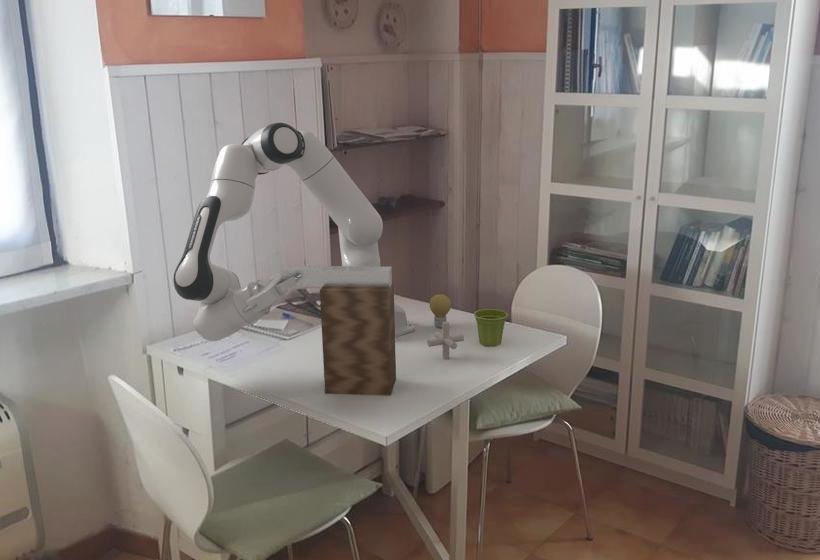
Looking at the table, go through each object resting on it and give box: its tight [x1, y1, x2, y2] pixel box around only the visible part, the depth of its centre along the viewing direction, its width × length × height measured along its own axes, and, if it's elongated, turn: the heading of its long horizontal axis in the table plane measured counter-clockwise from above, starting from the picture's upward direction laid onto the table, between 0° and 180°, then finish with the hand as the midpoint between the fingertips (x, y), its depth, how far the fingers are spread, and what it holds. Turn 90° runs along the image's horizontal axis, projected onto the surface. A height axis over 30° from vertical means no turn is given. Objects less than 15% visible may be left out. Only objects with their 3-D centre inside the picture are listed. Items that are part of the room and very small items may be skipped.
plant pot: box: [473, 308, 509, 347], centre depth 218 cm, size 9×9×9 cm
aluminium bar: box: [279, 265, 393, 288], centre depth 184 cm, size 26×4×4 cm, turn 84°
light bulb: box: [429, 293, 452, 329], centre depth 232 cm, size 6×6×10 cm
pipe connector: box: [427, 321, 465, 360], centre depth 207 cm, size 10×10×10 cm
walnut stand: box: [319, 279, 397, 396], centre depth 188 cm, size 16×10×26 cm, turn 84°
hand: (300, 274), depth 185 cm, fingers open, 8 cm apart
